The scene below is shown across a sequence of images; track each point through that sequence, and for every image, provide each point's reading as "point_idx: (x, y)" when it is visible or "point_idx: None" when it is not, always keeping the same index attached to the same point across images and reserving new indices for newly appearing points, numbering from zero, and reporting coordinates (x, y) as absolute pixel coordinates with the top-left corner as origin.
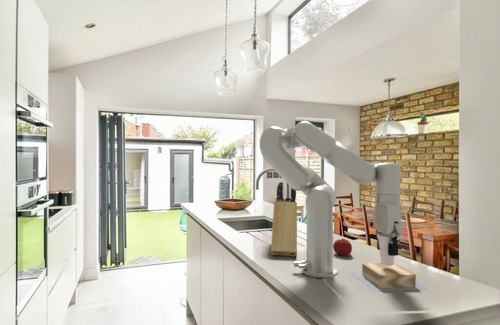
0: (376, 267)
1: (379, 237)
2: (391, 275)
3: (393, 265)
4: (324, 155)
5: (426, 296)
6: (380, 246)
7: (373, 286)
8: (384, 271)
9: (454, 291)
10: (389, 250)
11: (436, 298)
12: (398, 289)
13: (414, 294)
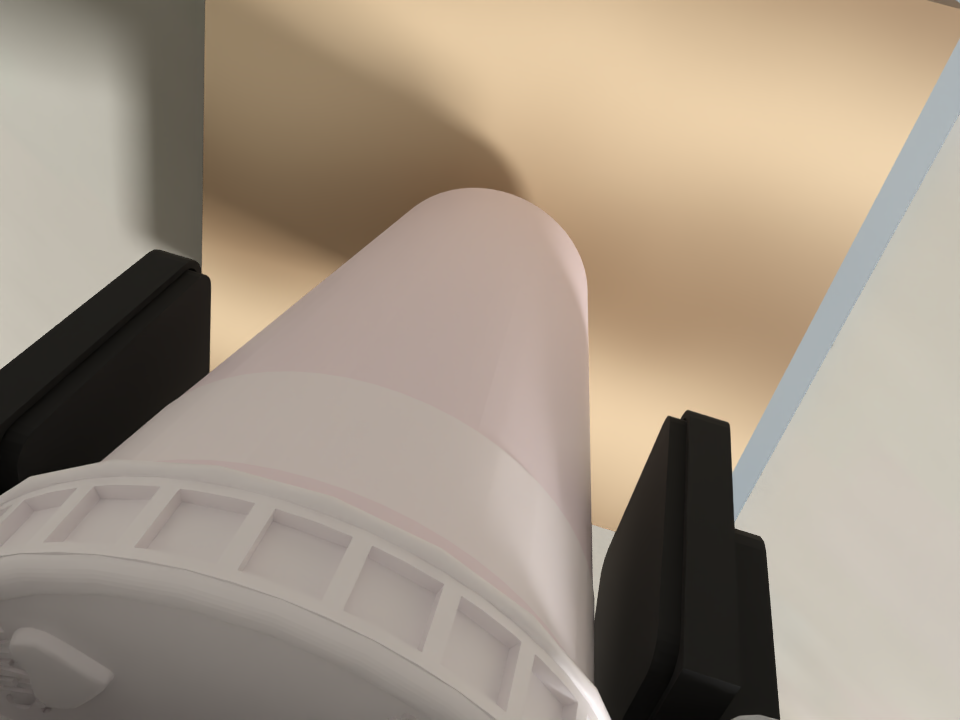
0: (616, 114)
1: (242, 525)
2: (208, 55)
3: (593, 452)
4: None
5: (97, 242)
6: (387, 344)
7: None
8: (388, 87)
9: None
10: (91, 317)
11: (53, 288)
12: None
13: (148, 170)
